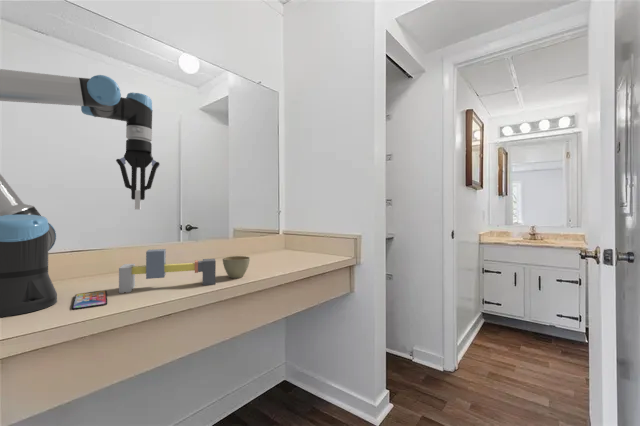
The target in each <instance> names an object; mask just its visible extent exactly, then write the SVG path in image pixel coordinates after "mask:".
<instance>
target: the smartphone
mask: <svg viewBox="0 0 640 426" xmlns="http://www.w3.org/2000/svg"><path fill="white" fill-rule="evenodd" d="M107 305H108V293H107V290H97V291H89V292H88V291H87V292H81V293H76V294H75V295H74V299H73V301H72V305H71V310H72V311H76V310H78V311H79V310H84V309H90V308H96V307H104V306H107Z"/></svg>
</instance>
